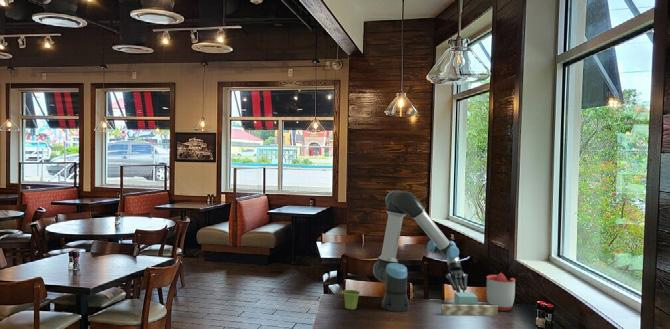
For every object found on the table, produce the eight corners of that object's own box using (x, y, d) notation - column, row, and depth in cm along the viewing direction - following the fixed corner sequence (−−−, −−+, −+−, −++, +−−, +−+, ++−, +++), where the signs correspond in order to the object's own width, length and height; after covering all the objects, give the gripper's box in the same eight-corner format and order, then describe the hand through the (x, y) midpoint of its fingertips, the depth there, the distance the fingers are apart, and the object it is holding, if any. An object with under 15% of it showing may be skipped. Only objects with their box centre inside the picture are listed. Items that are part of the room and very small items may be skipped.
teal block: (458, 313, 243) (459, 296, 243) (454, 308, 251) (454, 292, 251) (476, 313, 244) (477, 296, 244) (471, 308, 252) (472, 292, 252)
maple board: (442, 315, 239) (442, 305, 239) (441, 313, 241) (441, 304, 241) (497, 315, 241) (497, 306, 241) (496, 314, 243) (496, 305, 243)
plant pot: (352, 304, 252) (353, 289, 253) (362, 309, 244) (363, 293, 245) (339, 306, 247) (339, 291, 247) (348, 311, 239) (349, 295, 240)
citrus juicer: (521, 308, 255) (522, 273, 255) (505, 314, 244) (506, 277, 244) (496, 301, 267) (497, 268, 267) (480, 306, 256) (481, 271, 256)
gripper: (463, 268, 272) (472, 304, 256) (442, 268, 272) (449, 304, 255) (466, 261, 267) (476, 297, 250) (445, 261, 266) (453, 297, 250)
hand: (462, 301), depth 253 cm, fingers closed
